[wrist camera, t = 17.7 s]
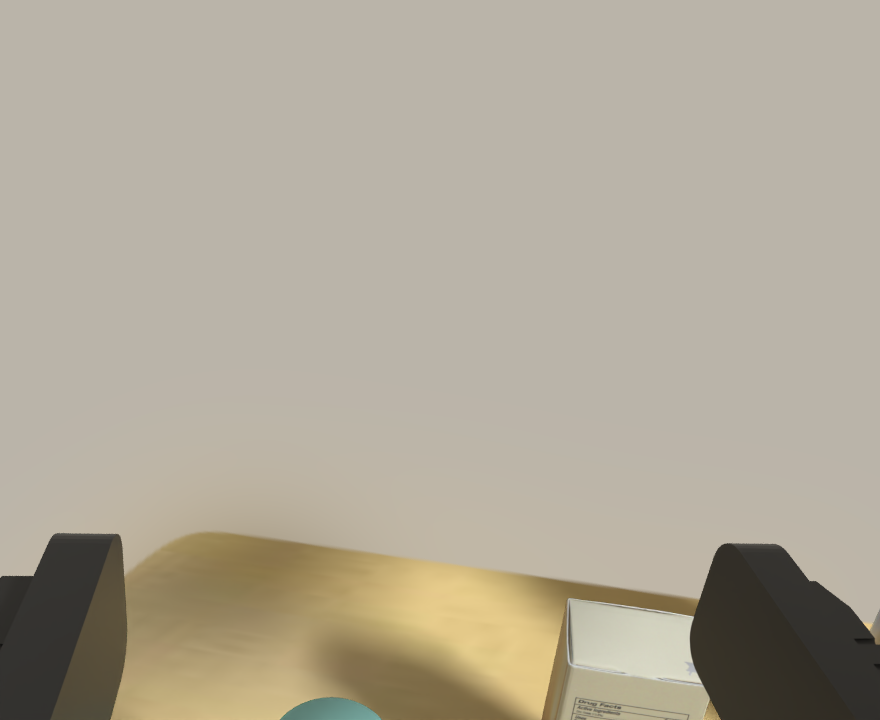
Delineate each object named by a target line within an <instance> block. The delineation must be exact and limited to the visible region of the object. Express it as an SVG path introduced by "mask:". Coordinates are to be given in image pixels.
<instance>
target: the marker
mask: <svg viewBox="0 0 880 720" xmlns="http://www.w3.org/2000/svg"><path fill="white" fill-rule="evenodd" d="M280 720H382V719H381V718H380V717H379V716H378V715H377V714H376V713H375V712H373V711H372V710H371V709H369V708H368V707H366V706H364V705H362V704H360V703H358V702H355V701H352V700H348V699H343V698H334V697H330V698H319V699H314V700H310V701H307V702H305V703H302V704H300V705H298V706H296V707H295V708H293V709H292V710H290V711H289V712H287V713H286V714H285V715H284V716H283V717H282V718H281V719H280Z"/></svg>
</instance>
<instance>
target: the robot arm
mask: <svg viewBox="0 0 880 720" xmlns="http://www.w3.org/2000/svg"><path fill="white" fill-rule="evenodd" d="M122 552H123V551H122V542H121V538H120V536H119V535H118V534H69V533H68V534H67V533H61V534H60V533H57V534H54V535H53V536H52V538H51V539H50V541H49V543H48V545H47V548H46V550H45V552H44V554H43V556H42V559H41V561H40V563H39V565H38V567H37V570H36V572H35V574H34V576H2V577H1V578H0V720H110V719H111V715H112V712H113V708H114V704H115V700H116V697H117V693H118V689H119V685H120V682H121V678H122V673H123V668H124V662H125V654H126V643H127V618H126V601H125V584H124V569H123V553H122ZM690 651H691V657H692V661H693V665H694V667H695V670H696V672H697V674H698V676H699V678H700V680H701V682H702V684H703V686H704V688H705V690H706V692H707V694H708V696H709V698H710V699H711V701H712V703H713V705H714V707H715V709H716V711H717V713H718V715H719V717H720V719H721V720H880V610H879V612H878V614H877V616H876V619H875V621H874V623H873V625H872V627H871V629H870V631H869V630H868V629H867V628H866V626H865V625H864V624H863V623H862V621H861V620H860V619H859V618H858V616H857V615H856V614H855V613H854V611H853V610H852V609H851V608H850V607H849V606H848V605H846V604H845V603H844V602H842V601H841V600H840V599H839V598H837V597H836V596H835V595H833V594H832V593H831V592H829V591H828V590H827V589H825V588H824V587H823V586H822V585H820V584H819V583H818V582H816V581H809V580H808V579H807V577H806V576H805V575H804V573H803V572H802V571H801V570H800V568H799V567H798V566H797V564H796V563H795V562H794V561H793V559H792V558H791V557H790V555H789V554H788V553H787V552H786V550H784V548H782V547H781V546H779V545H776V544H732V543H729V544H728V543H727V544H723V545H721V547H719V548H718V550H717V551H716V553H715V556H714V558H713V561H712V564H711V567H710V570H709V573H708V576H707V579H706V582H705V585H704V588H703V591H702V594H701V597H700V600H699V603H698V606H697V609H696V612H695V615H694V618H693V621H692V625H691V630H690Z"/></svg>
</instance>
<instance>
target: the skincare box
mask: <svg viewBox="0 0 880 720" xmlns="http://www.w3.org/2000/svg"><path fill="white" fill-rule="evenodd" d="M693 618H694V617H693V616H687V615H682V614H676V613H671V612H665V611H658V610H651V609H646V608H638V607H632V606H625V605H617V604H611V603H603V602H595V601H587V600H579V599H572V598H568V600H567V603H566V607H565V612H564V617H563V622H562V627H561V632H560V636H559V641H558V646H557V650H556V655H555V659H554V664H553V669H552V673H551V678H550V683H549V687H548V692H547V697H546V701H545V706H544V711H543V716H542V720H703V718H704V715H705V712H706V709H707V706H708V703H709V700H710V698H709V696H708V694H707V692H706V690H705V688H704V686H703V684H702V682H701V680H700V678H699V676H698V674H697V672H696V670H695V667H694V665H693V661H692V657H691V651H690V630H691V625H692V621H693Z"/></svg>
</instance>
